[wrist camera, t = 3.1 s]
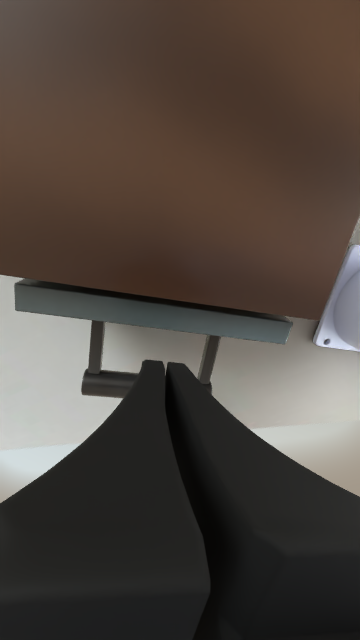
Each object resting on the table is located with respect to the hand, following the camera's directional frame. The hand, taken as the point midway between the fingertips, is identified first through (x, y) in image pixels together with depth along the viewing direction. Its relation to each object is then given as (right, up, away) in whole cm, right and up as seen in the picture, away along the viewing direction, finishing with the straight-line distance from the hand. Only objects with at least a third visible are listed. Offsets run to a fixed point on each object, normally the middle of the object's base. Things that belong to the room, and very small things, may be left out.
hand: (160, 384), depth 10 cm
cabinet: (+1, +12, +6) cm, 14 cm away
